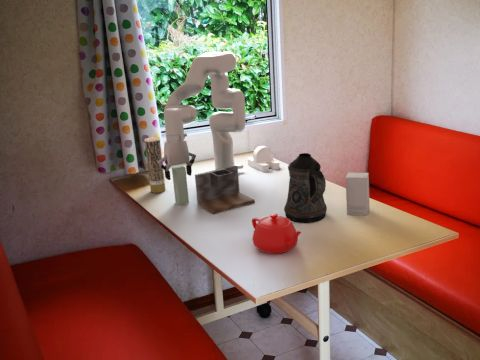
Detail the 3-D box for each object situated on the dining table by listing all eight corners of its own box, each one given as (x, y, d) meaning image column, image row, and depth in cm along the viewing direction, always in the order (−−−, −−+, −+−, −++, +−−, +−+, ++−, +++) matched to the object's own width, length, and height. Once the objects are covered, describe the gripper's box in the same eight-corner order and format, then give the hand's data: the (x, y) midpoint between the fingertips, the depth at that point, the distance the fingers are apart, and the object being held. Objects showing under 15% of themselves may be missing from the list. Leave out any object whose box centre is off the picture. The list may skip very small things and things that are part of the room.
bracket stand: (237, 194, 247) (235, 165, 243) (254, 202, 235) (252, 172, 231) (197, 204, 237) (194, 174, 233) (213, 214, 226) (210, 182, 222)
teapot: (237, 244, 196) (234, 212, 192) (270, 231, 205) (268, 200, 201) (285, 267, 177) (283, 232, 174) (319, 251, 186) (318, 218, 182)
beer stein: (297, 205, 228) (295, 146, 221) (341, 213, 218) (340, 151, 210) (276, 219, 216) (273, 157, 208) (321, 228, 205) (320, 163, 197)
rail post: (184, 200, 244) (181, 165, 239) (189, 202, 241) (185, 167, 236) (175, 202, 242) (171, 167, 237) (179, 205, 238) (175, 169, 234)
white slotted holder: (263, 172, 276) (262, 151, 273) (247, 164, 292) (245, 144, 288) (280, 169, 280) (279, 148, 277) (263, 161, 296) (262, 141, 292)
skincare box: (369, 210, 219) (369, 172, 214) (367, 216, 213) (367, 177, 208) (348, 208, 222) (348, 171, 217) (345, 214, 216) (345, 176, 211)
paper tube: (166, 188, 261) (161, 136, 254) (163, 193, 255) (157, 140, 247) (152, 188, 262) (146, 137, 255) (149, 193, 256) (142, 141, 248)
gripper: (190, 133, 240) (193, 171, 244) (152, 139, 231) (156, 179, 236) (197, 136, 233) (200, 175, 238) (159, 142, 225) (163, 183, 230)
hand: (178, 177), depth 237 cm, fingers open, 9 cm apart
